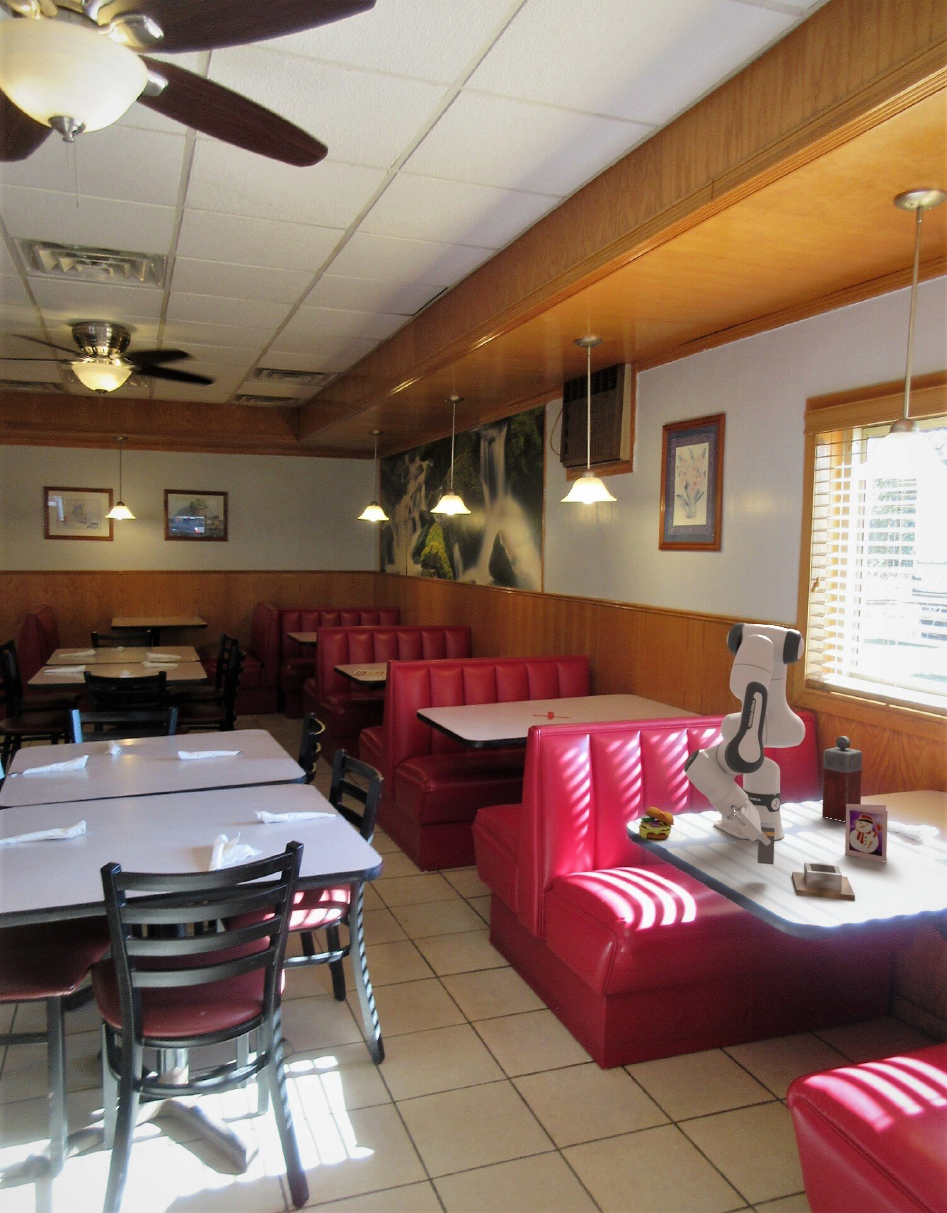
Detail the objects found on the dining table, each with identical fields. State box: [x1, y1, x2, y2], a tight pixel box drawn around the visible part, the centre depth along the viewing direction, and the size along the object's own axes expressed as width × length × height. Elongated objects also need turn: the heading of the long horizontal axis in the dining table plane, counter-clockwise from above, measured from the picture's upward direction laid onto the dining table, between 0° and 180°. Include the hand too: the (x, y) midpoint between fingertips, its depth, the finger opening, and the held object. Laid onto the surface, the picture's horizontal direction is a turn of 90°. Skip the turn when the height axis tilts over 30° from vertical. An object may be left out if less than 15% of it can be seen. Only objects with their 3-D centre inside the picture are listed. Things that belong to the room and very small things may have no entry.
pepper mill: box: [821, 735, 863, 822], centre depth 297 cm, size 9×11×28 cm
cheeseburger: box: [638, 806, 675, 840], centre depth 276 cm, size 10×11×10 cm
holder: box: [791, 861, 856, 901], centre depth 231 cm, size 14×14×5 cm
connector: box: [756, 823, 775, 866], centre depth 237 cm, size 4×4×10 cm
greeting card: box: [844, 803, 889, 863], centre depth 257 cm, size 11×7×15 cm, turn 51°
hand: (768, 840), depth 236 cm, fingers closed on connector, 4 cm apart
